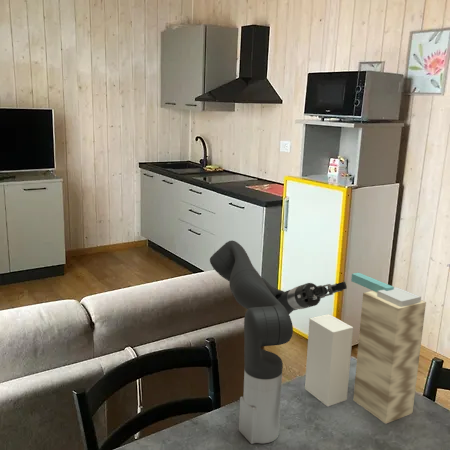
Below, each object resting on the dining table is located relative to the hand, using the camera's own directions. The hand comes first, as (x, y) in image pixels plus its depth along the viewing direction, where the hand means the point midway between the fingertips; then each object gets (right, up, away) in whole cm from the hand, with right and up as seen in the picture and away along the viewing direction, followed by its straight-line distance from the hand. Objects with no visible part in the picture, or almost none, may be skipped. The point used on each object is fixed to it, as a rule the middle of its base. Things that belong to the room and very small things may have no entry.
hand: (334, 287), depth 150 cm
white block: (-4, -30, -7) cm, 31 cm away
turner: (+9, +1, -16) cm, 18 cm away
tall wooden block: (+10, -31, -13) cm, 35 cm away
